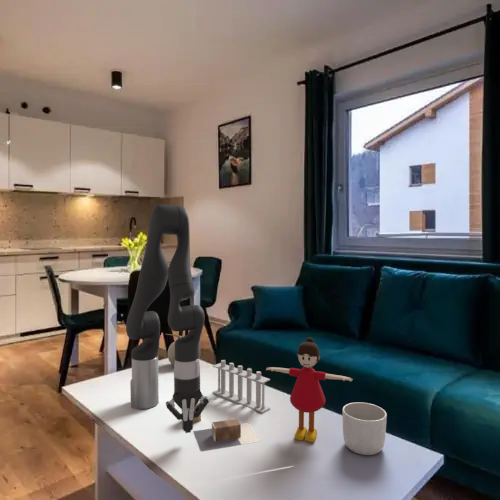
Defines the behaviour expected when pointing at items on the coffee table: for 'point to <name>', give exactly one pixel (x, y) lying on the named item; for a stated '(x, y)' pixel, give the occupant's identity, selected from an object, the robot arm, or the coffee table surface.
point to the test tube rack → (241, 386)
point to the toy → (307, 387)
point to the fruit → (172, 351)
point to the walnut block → (226, 430)
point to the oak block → (195, 417)
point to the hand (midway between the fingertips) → (187, 431)
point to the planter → (364, 427)
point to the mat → (208, 442)
